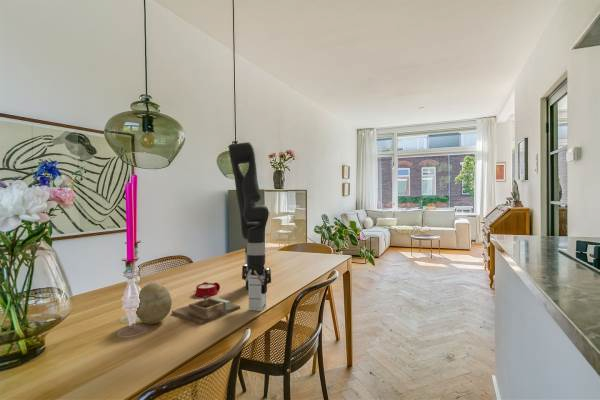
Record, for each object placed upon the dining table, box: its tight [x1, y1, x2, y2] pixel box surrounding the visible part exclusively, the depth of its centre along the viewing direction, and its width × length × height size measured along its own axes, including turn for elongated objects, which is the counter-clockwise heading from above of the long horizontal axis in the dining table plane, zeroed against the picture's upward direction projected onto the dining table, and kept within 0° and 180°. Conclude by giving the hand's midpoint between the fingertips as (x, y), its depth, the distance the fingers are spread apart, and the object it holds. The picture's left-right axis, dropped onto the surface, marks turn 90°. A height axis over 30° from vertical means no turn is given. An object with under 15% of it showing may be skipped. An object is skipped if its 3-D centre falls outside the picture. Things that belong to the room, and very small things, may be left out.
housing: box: [171, 296, 241, 325], centre depth 136 cm, size 20×18×5 cm
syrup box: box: [248, 275, 267, 312], centre depth 139 cm, size 6×6×14 cm
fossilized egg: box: [135, 281, 173, 325], centre depth 124 cm, size 13×13×15 cm
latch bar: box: [211, 296, 231, 310], centre depth 136 cm, size 2×10×3 cm, turn 55°
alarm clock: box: [193, 281, 221, 298], centre depth 161 cm, size 10×6×15 cm
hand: (256, 291), depth 138 cm, fingers open, 8 cm apart
